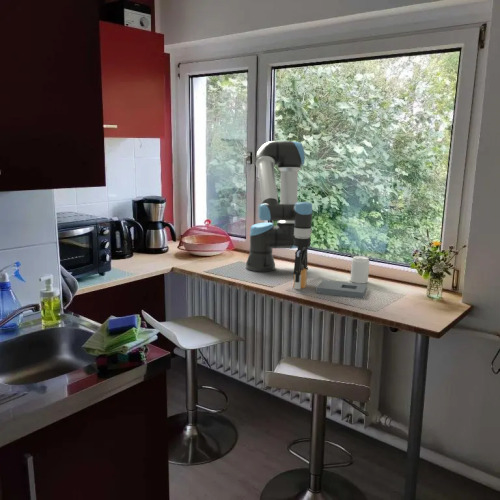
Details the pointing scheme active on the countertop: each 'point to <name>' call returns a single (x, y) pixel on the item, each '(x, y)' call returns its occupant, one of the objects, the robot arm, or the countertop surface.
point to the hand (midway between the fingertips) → (299, 286)
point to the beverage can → (359, 269)
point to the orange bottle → (302, 277)
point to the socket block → (341, 288)
